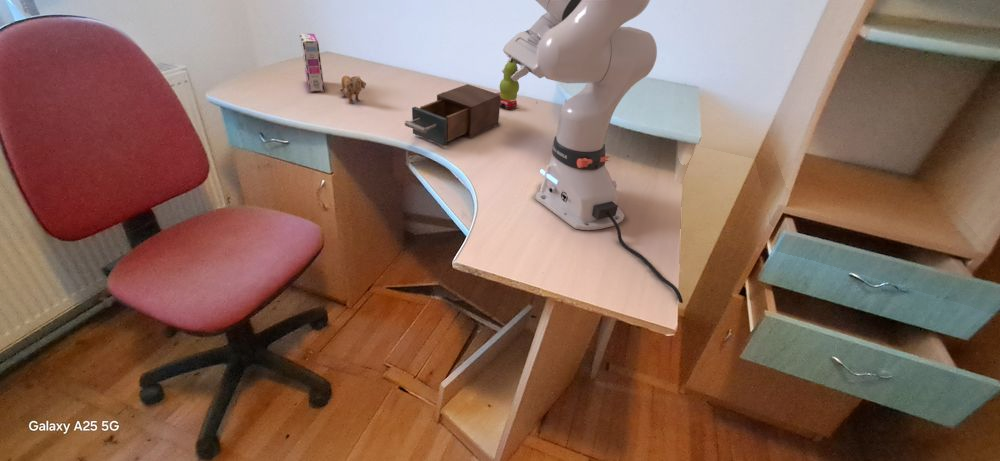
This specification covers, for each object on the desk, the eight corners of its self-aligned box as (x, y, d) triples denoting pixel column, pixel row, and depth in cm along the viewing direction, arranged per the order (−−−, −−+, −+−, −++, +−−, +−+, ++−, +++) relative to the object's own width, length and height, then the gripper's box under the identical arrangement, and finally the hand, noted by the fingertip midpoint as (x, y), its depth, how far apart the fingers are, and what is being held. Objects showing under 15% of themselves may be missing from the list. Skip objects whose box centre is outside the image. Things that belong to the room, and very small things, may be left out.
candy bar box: (325, 92, 155) (318, 41, 145) (310, 93, 153) (301, 41, 143) (321, 81, 163) (314, 32, 153) (306, 82, 161) (298, 33, 151)
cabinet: (470, 138, 134) (471, 106, 129) (436, 125, 140) (436, 94, 134) (498, 124, 145) (500, 94, 139) (466, 112, 150) (467, 84, 145)
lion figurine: (369, 104, 149) (367, 76, 144) (355, 107, 146) (352, 79, 141) (347, 90, 157) (344, 64, 152) (333, 93, 154) (329, 66, 149)
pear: (521, 100, 126) (525, 60, 120) (503, 101, 124) (507, 61, 118) (512, 93, 130) (516, 54, 123) (495, 94, 128) (498, 55, 121)
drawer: (430, 152, 123) (430, 125, 118) (398, 139, 128) (397, 112, 123) (473, 132, 136) (474, 107, 131) (443, 120, 141) (443, 96, 136)
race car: (479, 101, 160) (479, 89, 158) (488, 97, 164) (489, 86, 161) (509, 111, 154) (510, 100, 152) (518, 107, 158) (519, 96, 155)
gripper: (520, 20, 126) (486, 57, 128) (557, 39, 112) (518, 80, 114) (532, 36, 131) (499, 72, 133) (569, 56, 116) (531, 97, 118)
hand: (508, 76), depth 123 cm, fingers closed on pear, 3 cm apart
